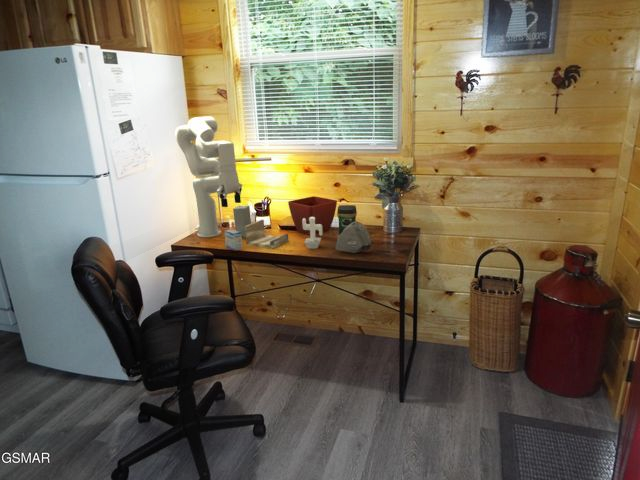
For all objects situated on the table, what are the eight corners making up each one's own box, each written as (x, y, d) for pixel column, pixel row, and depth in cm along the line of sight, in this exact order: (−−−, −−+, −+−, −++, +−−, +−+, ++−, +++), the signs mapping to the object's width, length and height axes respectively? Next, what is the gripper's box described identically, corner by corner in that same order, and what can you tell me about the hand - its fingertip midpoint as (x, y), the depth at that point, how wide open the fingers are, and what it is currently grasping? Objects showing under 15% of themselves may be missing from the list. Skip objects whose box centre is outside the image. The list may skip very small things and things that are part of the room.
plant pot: (314, 224, 265) (313, 195, 260) (338, 230, 251) (337, 200, 246) (288, 231, 253) (287, 201, 248) (312, 238, 239) (310, 206, 234)
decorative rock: (372, 251, 217) (372, 220, 213) (369, 255, 211) (369, 224, 207) (338, 249, 222) (337, 218, 217) (334, 253, 216) (333, 222, 211)
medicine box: (225, 247, 229) (224, 230, 227) (233, 245, 233) (231, 228, 230) (235, 250, 224) (233, 233, 222) (242, 248, 227) (241, 231, 225)
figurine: (322, 249, 221) (321, 219, 217) (302, 249, 223) (301, 219, 218) (323, 245, 228) (322, 215, 224) (304, 245, 229) (303, 215, 225)
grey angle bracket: (246, 244, 233) (244, 226, 230) (263, 237, 245) (261, 219, 242) (273, 248, 225) (271, 229, 222) (288, 240, 237) (288, 222, 234)
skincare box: (247, 238, 244) (245, 208, 239) (234, 237, 245) (232, 208, 240) (253, 233, 252) (250, 204, 247) (240, 233, 253) (238, 204, 248)
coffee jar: (358, 239, 235) (357, 203, 230) (356, 244, 228) (356, 207, 222) (339, 239, 237) (338, 203, 232) (336, 243, 230) (335, 207, 224)
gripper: (233, 166, 227) (236, 200, 231) (209, 171, 212) (213, 208, 217) (245, 166, 223) (248, 201, 228) (221, 171, 209) (225, 209, 213)
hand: (231, 204), depth 222 cm, fingers open, 9 cm apart
